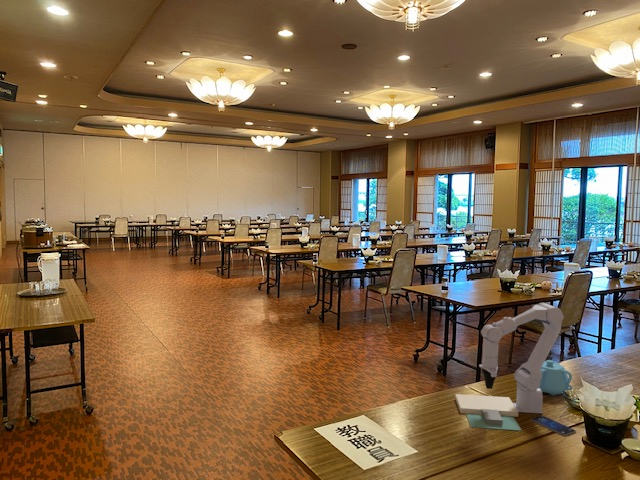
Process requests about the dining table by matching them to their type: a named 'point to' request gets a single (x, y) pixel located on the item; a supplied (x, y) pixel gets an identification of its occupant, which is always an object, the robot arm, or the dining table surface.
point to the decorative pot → (554, 378)
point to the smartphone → (553, 425)
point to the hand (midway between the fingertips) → (489, 388)
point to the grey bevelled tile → (492, 417)
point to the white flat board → (485, 404)
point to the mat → (479, 422)
